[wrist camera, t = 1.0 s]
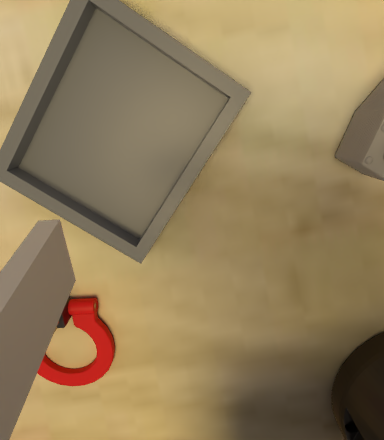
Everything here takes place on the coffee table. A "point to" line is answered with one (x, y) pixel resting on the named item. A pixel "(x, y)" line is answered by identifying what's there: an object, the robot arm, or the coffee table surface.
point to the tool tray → (117, 125)
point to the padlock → (366, 137)
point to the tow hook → (97, 330)
